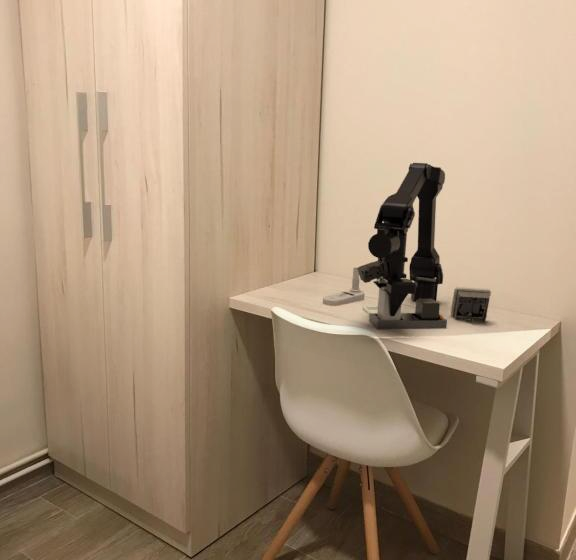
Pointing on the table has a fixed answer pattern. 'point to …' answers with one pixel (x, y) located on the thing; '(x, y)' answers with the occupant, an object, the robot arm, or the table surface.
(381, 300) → the plug
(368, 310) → the tray
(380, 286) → the robot arm
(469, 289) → the electrical switch
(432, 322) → the strip
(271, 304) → the table surface
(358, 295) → the electronic device
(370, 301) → the table surface
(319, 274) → the table surface
